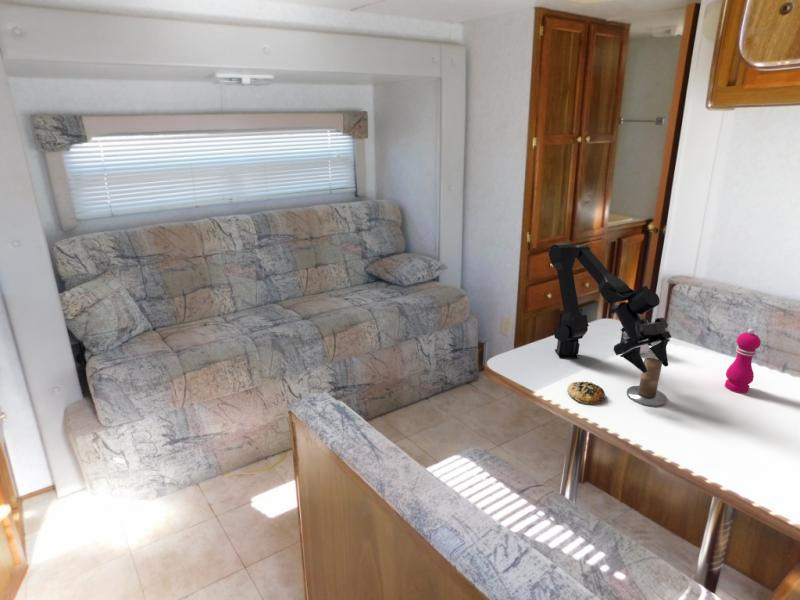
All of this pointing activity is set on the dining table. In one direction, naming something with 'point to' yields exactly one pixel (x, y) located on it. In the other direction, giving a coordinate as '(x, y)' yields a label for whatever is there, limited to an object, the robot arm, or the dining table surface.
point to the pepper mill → (742, 363)
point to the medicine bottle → (643, 348)
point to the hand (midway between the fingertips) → (656, 369)
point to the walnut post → (650, 378)
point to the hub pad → (655, 402)
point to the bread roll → (586, 392)
